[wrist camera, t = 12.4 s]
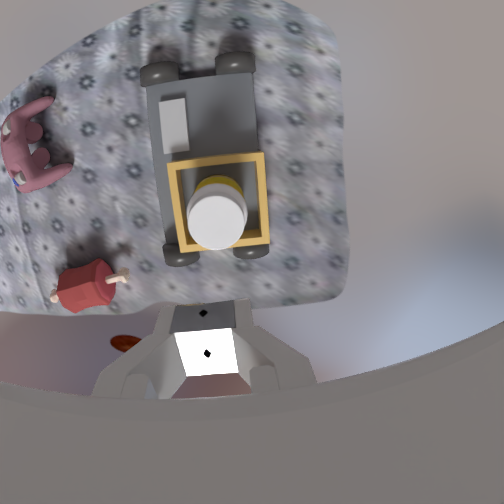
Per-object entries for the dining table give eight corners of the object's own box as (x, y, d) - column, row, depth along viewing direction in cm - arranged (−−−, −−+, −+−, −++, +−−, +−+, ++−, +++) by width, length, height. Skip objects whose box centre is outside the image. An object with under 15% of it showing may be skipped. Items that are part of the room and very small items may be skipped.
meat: (122, 242, 29) (112, 273, 25) (141, 274, 32) (136, 306, 28) (47, 269, 29) (33, 297, 25) (67, 295, 32) (58, 324, 28)
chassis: (168, 253, 30) (162, 268, 27) (145, 74, 23) (134, 67, 20) (266, 243, 31) (271, 256, 28) (252, 60, 23) (256, 50, 20)
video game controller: (39, 109, 24) (-9, 123, 18) (55, 90, 22) (1, 103, 16) (60, 181, 27) (13, 204, 22) (78, 170, 25) (25, 194, 20)
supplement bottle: (190, 177, 26) (176, 194, 19) (240, 170, 27) (246, 183, 19) (198, 224, 28) (189, 259, 21) (246, 218, 28) (254, 250, 21)
